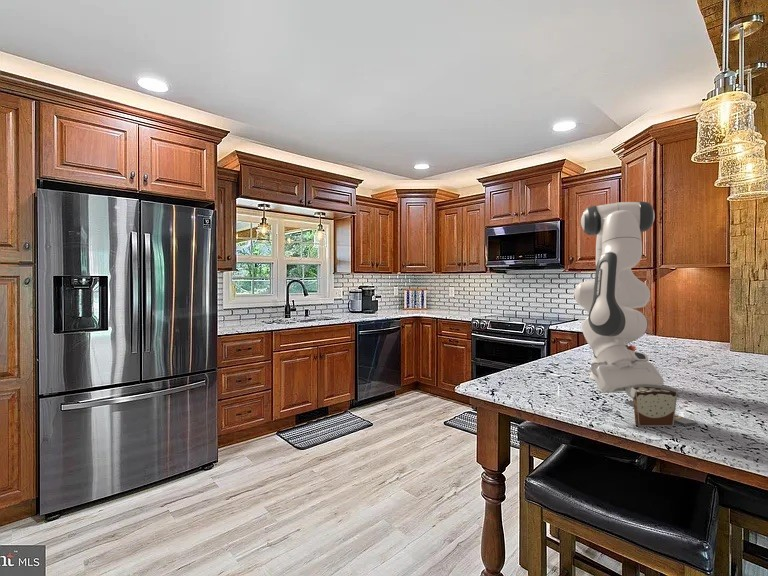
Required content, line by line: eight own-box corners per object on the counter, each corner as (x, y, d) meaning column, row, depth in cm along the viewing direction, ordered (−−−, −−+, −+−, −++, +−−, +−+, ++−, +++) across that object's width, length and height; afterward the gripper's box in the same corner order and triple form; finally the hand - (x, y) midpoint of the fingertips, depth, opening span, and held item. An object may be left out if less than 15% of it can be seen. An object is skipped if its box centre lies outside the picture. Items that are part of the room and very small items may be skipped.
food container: (663, 418, 115) (663, 383, 115) (678, 426, 109) (679, 389, 109) (620, 418, 115) (620, 383, 115) (633, 426, 109) (634, 389, 109)
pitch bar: (636, 402, 130) (636, 391, 130) (697, 424, 110) (697, 411, 110) (624, 403, 129) (625, 392, 129) (684, 425, 109) (684, 412, 109)
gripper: (593, 357, 118) (618, 400, 109) (650, 354, 123) (680, 395, 113) (582, 368, 123) (605, 411, 113) (638, 365, 127) (665, 405, 118)
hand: (643, 403), depth 113 cm, fingers closed, pressing on food container
